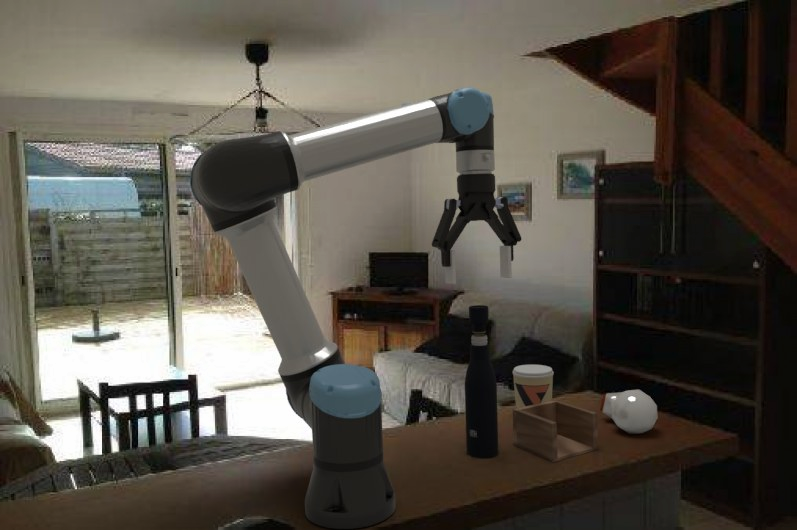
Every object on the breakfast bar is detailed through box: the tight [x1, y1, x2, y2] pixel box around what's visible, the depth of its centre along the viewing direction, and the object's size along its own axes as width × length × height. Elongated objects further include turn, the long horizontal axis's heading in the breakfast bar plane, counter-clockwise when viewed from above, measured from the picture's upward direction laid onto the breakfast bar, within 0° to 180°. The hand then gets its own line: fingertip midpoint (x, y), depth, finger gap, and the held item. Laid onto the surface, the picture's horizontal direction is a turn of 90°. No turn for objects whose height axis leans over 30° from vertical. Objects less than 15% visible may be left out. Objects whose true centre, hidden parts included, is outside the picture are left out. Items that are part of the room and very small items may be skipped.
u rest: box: [512, 399, 599, 463], centre depth 141 cm, size 12×12×8 cm
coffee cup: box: [512, 364, 555, 409], centre depth 160 cm, size 9×9×12 cm
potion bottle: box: [599, 389, 659, 435], centre depth 151 cm, size 9×10×15 cm
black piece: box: [464, 304, 499, 459], centre depth 138 cm, size 6×6×30 cm
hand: (479, 280), depth 137 cm, fingers open, 13 cm apart
